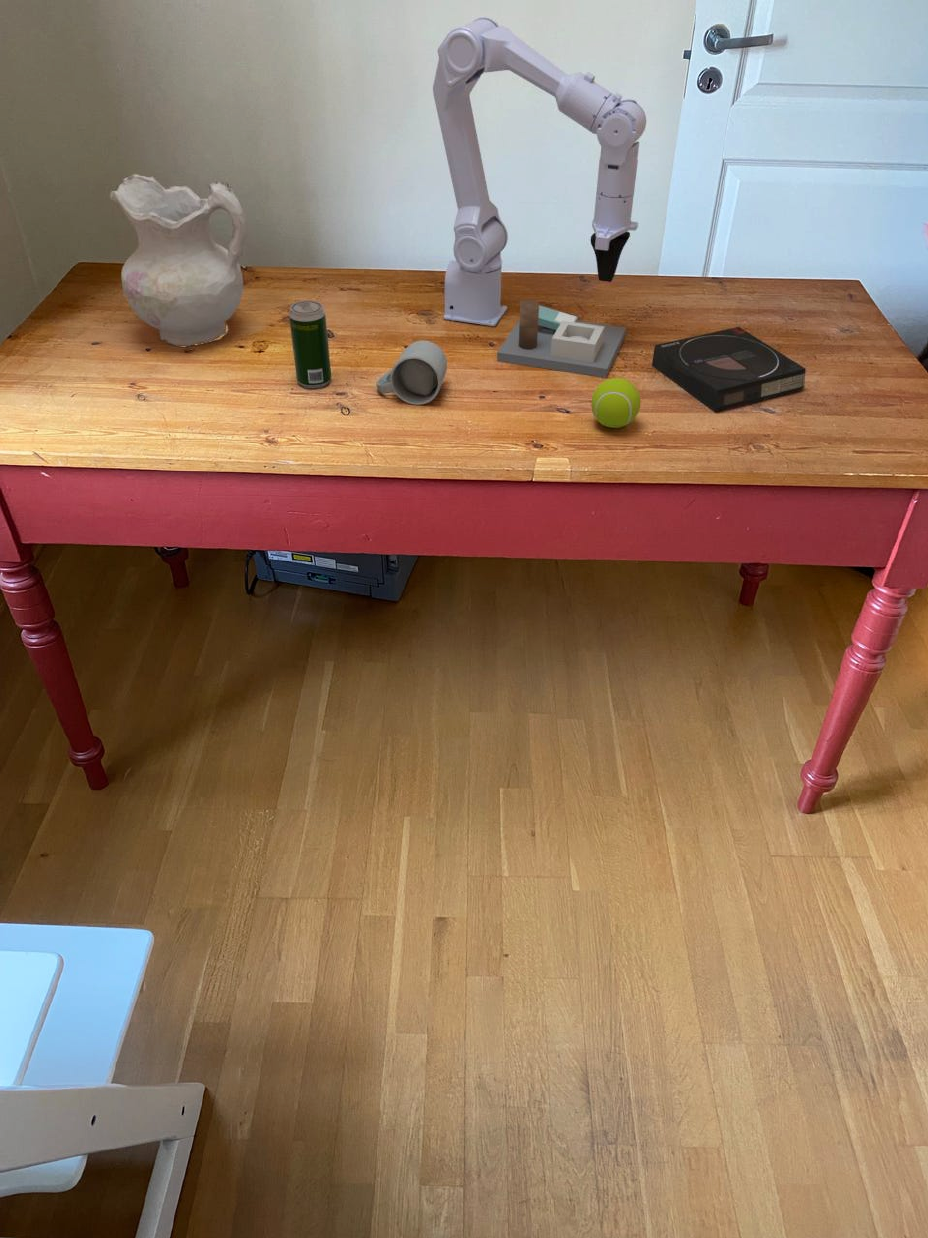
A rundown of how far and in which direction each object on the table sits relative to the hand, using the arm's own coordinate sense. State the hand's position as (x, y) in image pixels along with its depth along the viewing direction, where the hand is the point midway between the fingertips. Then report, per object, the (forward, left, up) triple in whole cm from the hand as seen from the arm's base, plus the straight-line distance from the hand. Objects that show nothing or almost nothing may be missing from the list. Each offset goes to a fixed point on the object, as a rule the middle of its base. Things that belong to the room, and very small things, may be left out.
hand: (605, 279), depth 152 cm
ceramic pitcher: (-65, -20, -10) cm, 69 cm away
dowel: (-10, -10, -8) cm, 16 cm away
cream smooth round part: (-2, -9, -8) cm, 12 cm away
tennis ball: (+8, -28, -10) cm, 31 cm away
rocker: (-8, -3, -7) cm, 11 cm away
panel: (-5, -6, -10) cm, 13 cm away
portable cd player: (+22, -8, -11) cm, 26 cm away
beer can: (-39, -30, -10) cm, 50 cm away
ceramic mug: (-23, -28, -10) cm, 38 cm away
